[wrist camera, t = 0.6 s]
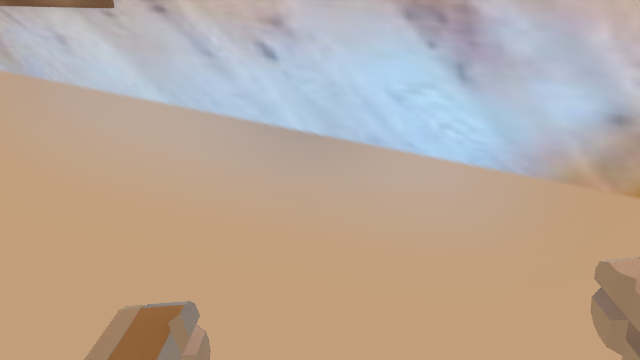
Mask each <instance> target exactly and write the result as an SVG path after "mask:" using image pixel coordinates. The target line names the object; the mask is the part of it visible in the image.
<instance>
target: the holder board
mask: <svg viewBox="0 0 640 360" xmlns="http://www.w3.org/2000/svg"><path fill="white" fill-rule="evenodd" d="M0 6H32V7H79V8H114V3H113V0H0Z"/></svg>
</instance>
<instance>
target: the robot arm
mask: <svg viewBox="0 0 640 360" xmlns="http://www.w3.org/2000/svg"><path fill="white" fill-rule="evenodd" d="M594 279H595V280H596V281H597V282H598V284H599V285H600V286H601V288H600V289H599V290H598V291H597V292H596V293H595V294H594V295H593V297H592V302H591V314H592V318H593V323H594V326H595V328H596V330H597V332H598V334H599V336H600V338H601V339H602V341H603V342H604V344H605V345H606V347H608V348H610V349H611V350H613V351H615V352H617V353H618V354H620V355H622V356H623V358H622V360H640V257H635V258H625V259H616V260H606V261H600V262H599V263H598V265H597V267H596V270H595V277H594ZM199 316H200V315H199V313H198V310H197V308H196V305H195V304H194V303H192V302H190V301H186V302H172V303H159V304H147V305H137V306H126V307H124V308H122V309H120V310H119V311H118V312H117V314H116V315H115V317H114V318H113V319H112V321H111V322H110V324H109V325H108V327H107V328H106V329H105V331H104V332H103V334H102V335H101V336H100V338H99V339H98V341H97V342H96V344H95V345H94V346H93V348H92V349H91V351H90V352H89V353H88V355H87V356H86V358H85V359H84V360H210V345H209V339H208V336H207V333H206V331H205V330H204V329H202V328H201V327H200V326H198V325H197V324H196V323H197V321H198V319H199Z"/></svg>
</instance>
